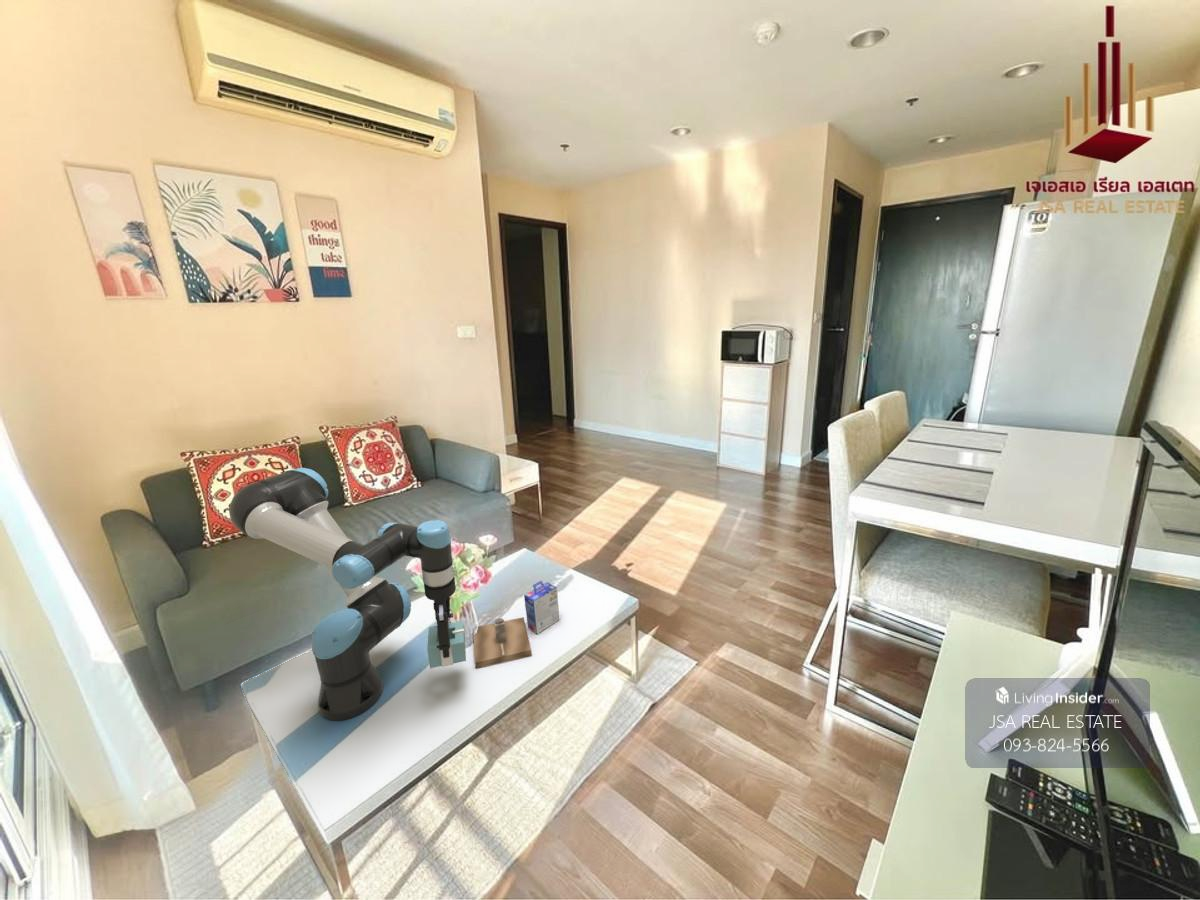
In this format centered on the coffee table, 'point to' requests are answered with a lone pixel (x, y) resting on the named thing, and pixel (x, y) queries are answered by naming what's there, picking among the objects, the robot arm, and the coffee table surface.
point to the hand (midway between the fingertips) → (447, 652)
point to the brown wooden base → (501, 642)
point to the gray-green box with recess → (456, 644)
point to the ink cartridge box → (541, 607)
